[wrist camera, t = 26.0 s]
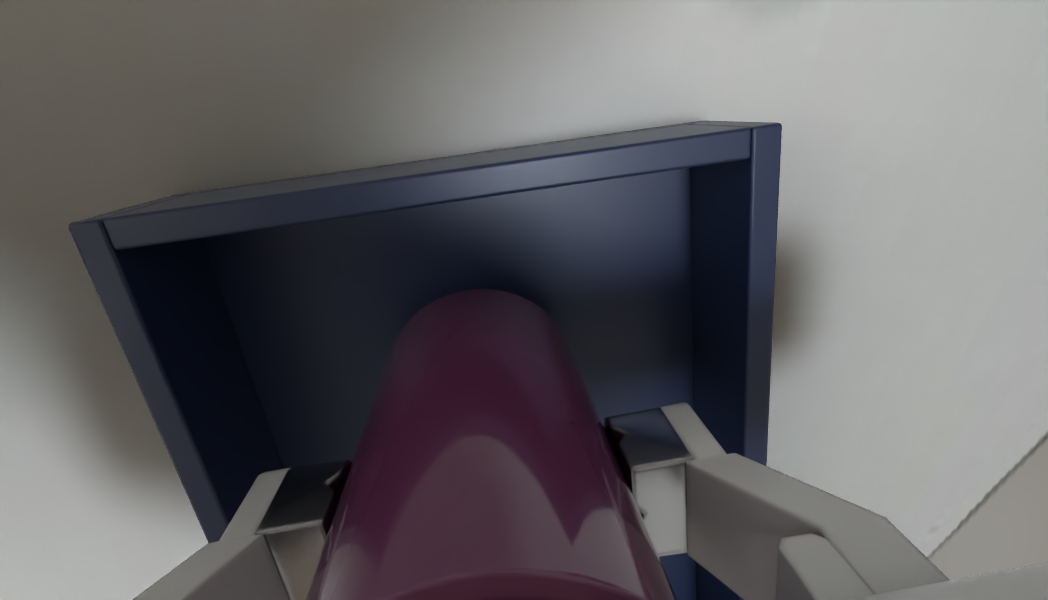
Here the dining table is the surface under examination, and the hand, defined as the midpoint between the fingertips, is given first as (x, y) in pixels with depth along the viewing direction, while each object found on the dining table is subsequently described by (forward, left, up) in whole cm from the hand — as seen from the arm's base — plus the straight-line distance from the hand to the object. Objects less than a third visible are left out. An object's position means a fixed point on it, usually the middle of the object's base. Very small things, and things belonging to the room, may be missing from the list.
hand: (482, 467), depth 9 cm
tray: (0, -4, -5) cm, 7 cm away
